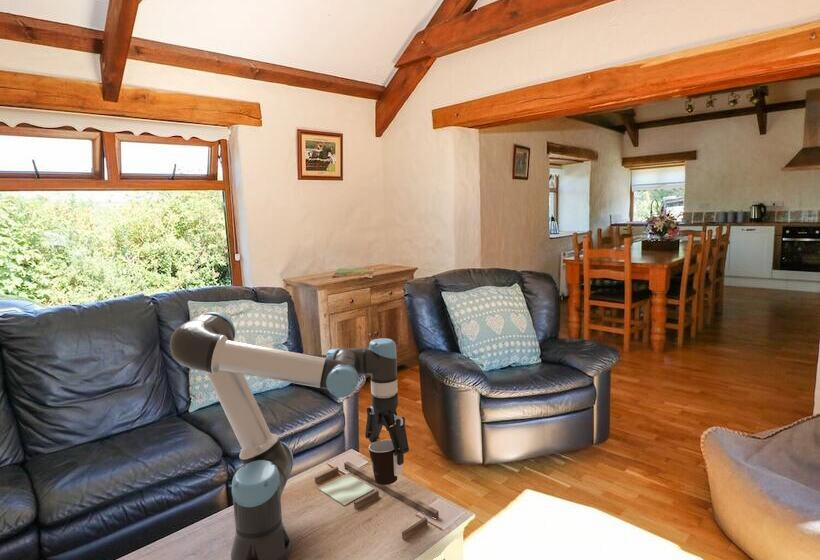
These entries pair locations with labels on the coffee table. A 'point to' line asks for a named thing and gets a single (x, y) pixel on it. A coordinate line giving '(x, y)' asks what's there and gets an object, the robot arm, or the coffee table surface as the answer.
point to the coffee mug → (383, 461)
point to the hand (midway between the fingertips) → (387, 468)
